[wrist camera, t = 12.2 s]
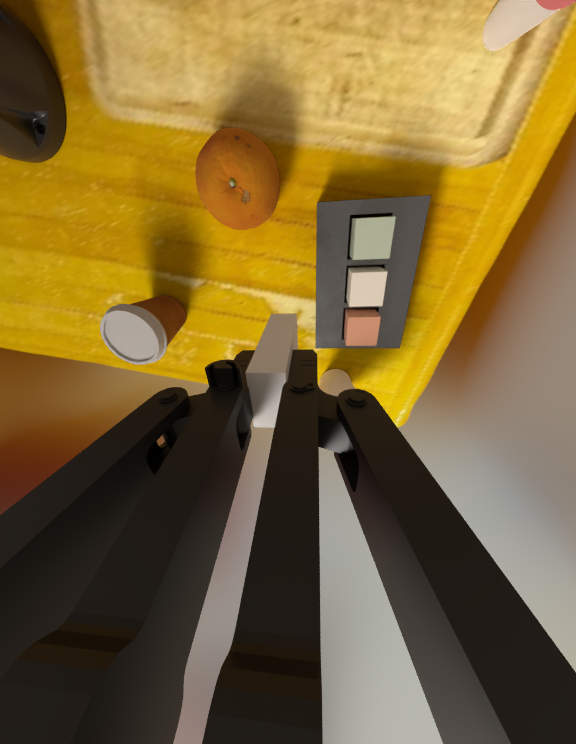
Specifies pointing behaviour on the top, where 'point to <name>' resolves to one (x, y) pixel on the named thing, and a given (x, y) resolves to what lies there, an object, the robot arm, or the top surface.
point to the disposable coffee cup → (142, 328)
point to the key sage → (371, 237)
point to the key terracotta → (361, 326)
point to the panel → (335, 260)
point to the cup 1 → (335, 382)
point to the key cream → (365, 285)
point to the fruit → (237, 178)
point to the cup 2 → (517, 19)
